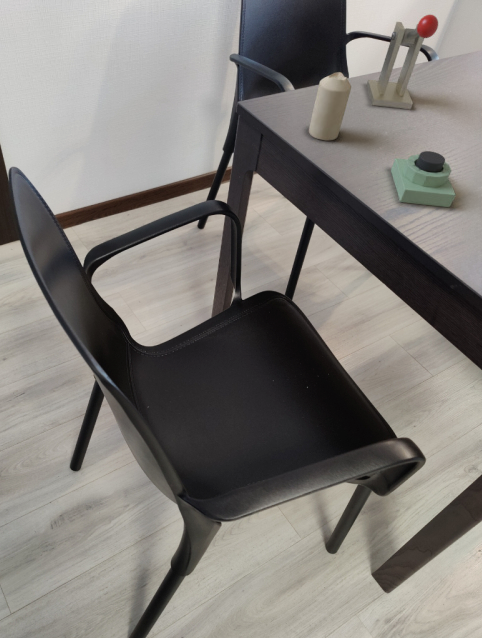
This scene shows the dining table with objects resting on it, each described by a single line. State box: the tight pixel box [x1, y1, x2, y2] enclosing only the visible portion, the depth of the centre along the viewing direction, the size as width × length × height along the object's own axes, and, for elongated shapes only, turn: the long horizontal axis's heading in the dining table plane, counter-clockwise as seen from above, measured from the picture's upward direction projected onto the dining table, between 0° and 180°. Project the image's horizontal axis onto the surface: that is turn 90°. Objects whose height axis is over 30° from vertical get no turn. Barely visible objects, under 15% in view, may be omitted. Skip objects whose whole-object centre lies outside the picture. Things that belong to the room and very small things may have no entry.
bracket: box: [366, 21, 425, 110], centre depth 101 cm, size 10×8×13 cm
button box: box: [390, 153, 456, 208], centre depth 82 cm, size 8×10×4 cm
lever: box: [400, 14, 439, 47], centre depth 92 cm, size 14×3×3 cm, turn 174°
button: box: [416, 150, 446, 173], centre depth 80 cm, size 4×4×2 cm
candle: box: [308, 71, 352, 141], centre depth 90 cm, size 6×6×10 cm
